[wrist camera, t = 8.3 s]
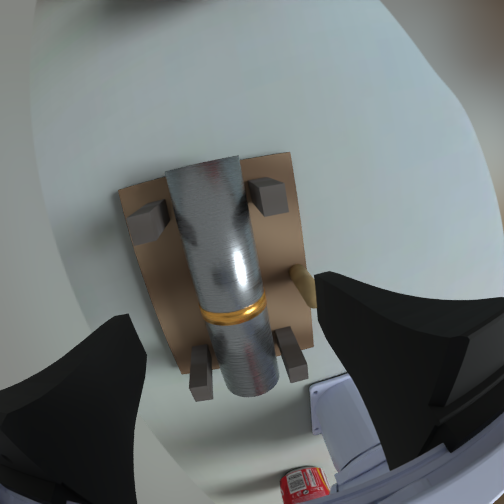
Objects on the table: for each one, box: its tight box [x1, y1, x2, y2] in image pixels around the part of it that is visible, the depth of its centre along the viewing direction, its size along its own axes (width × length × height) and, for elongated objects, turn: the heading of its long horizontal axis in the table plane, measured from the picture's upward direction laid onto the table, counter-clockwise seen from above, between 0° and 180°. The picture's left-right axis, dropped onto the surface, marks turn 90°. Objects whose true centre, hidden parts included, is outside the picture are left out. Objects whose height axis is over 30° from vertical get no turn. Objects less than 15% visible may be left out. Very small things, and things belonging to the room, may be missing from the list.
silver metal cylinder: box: [165, 155, 279, 397], centre depth 17 cm, size 15×4×4 cm, turn 10°
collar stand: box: [118, 152, 317, 402], centre depth 17 cm, size 15×11×6 cm
